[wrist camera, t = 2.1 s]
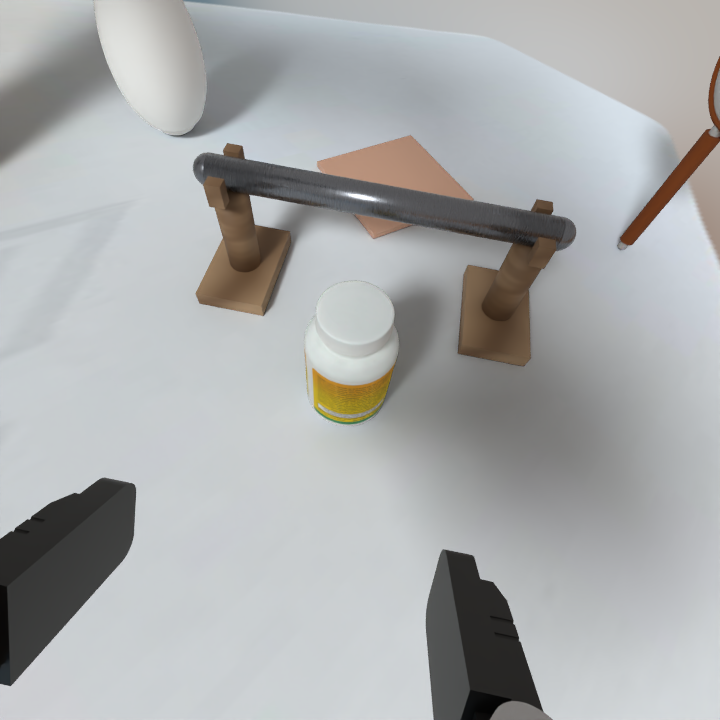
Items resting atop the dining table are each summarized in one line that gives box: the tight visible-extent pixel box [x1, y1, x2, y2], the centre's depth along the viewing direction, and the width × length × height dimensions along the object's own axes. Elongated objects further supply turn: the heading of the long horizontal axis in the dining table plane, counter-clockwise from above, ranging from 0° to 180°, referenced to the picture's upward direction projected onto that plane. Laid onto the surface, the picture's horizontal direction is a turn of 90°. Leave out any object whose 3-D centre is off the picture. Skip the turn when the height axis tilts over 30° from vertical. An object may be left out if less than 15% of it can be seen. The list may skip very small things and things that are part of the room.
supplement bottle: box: [304, 281, 399, 426], centre depth 25 cm, size 5×5×10 cm
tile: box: [317, 135, 473, 239], centre depth 41 cm, size 11×11×1 cm
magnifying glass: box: [618, 57, 720, 250], centre depth 30 cm, size 9×2×20 cm, turn 1°
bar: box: [193, 153, 576, 251], centre depth 26 cm, size 24×2×2 cm, turn 80°
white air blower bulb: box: [93, 0, 207, 135], centre depth 35 cm, size 8×8×18 cm
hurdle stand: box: [196, 143, 556, 366], centre depth 30 cm, size 25×8×10 cm, turn 80°
